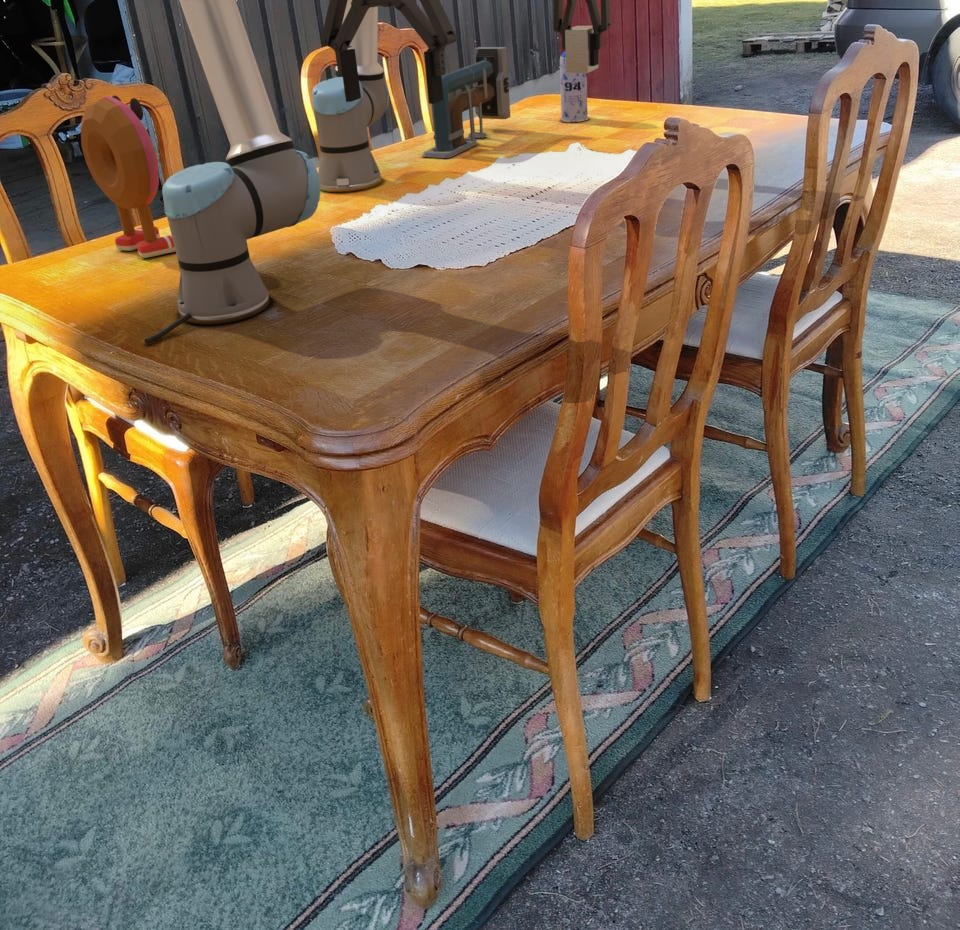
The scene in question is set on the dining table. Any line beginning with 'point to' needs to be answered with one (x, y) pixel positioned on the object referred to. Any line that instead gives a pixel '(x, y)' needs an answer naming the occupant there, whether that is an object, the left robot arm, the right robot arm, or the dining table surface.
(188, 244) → the left robot arm
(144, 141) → the toy
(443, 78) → the clamp
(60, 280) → the dining table surface
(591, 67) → the brick
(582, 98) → the aerosol can
